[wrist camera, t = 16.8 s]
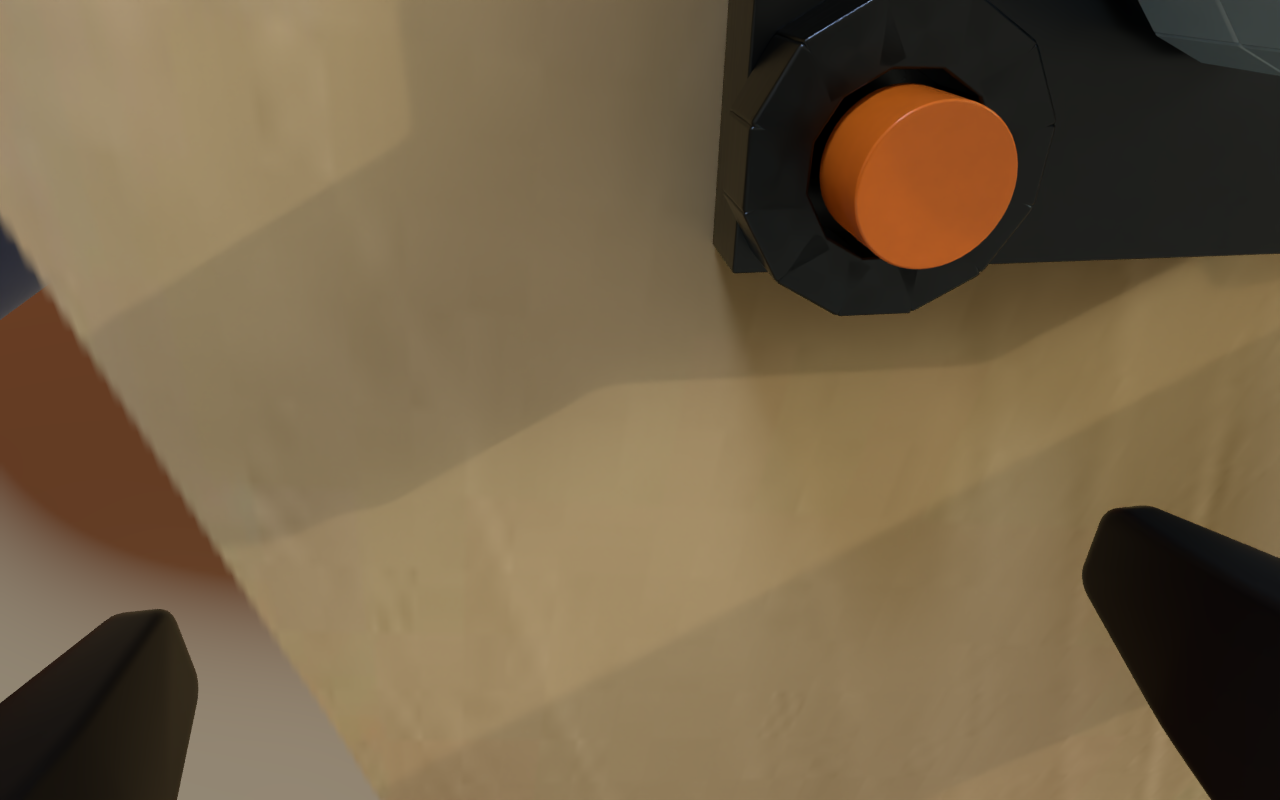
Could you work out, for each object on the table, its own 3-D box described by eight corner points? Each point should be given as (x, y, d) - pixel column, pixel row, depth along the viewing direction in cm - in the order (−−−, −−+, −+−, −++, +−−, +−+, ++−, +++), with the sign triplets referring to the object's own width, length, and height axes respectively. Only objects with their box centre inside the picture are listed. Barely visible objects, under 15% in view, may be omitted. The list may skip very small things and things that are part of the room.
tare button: (809, 240, 15) (843, 273, 13) (829, 82, 14) (870, 98, 12) (948, 236, 15) (996, 267, 14) (981, 82, 14) (1039, 98, 12)
